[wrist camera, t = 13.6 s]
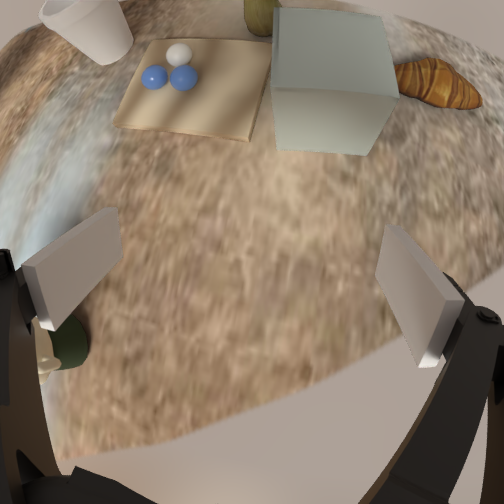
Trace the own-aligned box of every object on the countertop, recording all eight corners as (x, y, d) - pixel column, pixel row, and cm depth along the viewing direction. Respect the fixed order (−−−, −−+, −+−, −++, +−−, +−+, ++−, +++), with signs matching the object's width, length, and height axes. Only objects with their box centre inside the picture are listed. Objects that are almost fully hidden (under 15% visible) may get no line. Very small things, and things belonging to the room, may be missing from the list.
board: (117, 127, 32) (112, 123, 31) (155, 45, 33) (152, 39, 32) (249, 142, 30) (248, 137, 29) (275, 50, 31) (275, 43, 30)
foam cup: (110, 25, 35) (72, -27, 22) (155, 26, 34) (120, -37, 21) (75, 71, 35) (26, 23, 22) (118, 77, 33) (68, 17, 20)
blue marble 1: (143, 94, 31) (132, 80, 28) (152, 74, 31) (143, 59, 28) (166, 95, 31) (156, 80, 28) (175, 74, 31) (166, 59, 28)
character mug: (41, 358, 31) (-37, 377, 18) (39, 302, 32) (-43, 305, 19) (109, 379, 30) (30, 417, 17) (109, 316, 30) (21, 329, 17)
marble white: (167, 71, 31) (158, 56, 28) (175, 53, 31) (168, 38, 28) (190, 72, 31) (182, 56, 28) (198, 53, 31) (192, 37, 28)
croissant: (470, 84, 28) (487, 64, 23) (481, 128, 28) (501, 110, 23) (376, 60, 30) (385, 34, 25) (381, 105, 29) (393, 80, 25)
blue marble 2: (171, 95, 31) (161, 80, 28) (179, 74, 31) (171, 59, 28) (196, 97, 30) (188, 81, 27) (204, 75, 30) (197, 59, 27)
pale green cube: (276, 150, 30) (270, 86, 19) (279, 78, 31) (273, 7, 20) (366, 155, 29) (399, 98, 18) (360, 84, 30) (381, 16, 19)
